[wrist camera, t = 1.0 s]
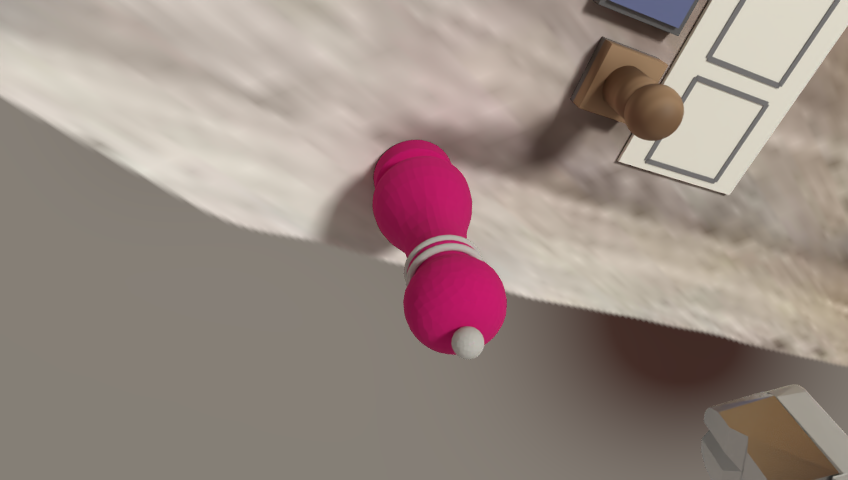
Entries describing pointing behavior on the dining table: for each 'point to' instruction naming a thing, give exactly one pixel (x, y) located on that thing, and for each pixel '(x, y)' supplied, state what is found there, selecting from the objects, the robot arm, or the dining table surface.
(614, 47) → the stamp
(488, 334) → the pepper mill
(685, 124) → the print card
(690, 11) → the ink pad
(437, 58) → the dining table surface
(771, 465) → the robot arm
